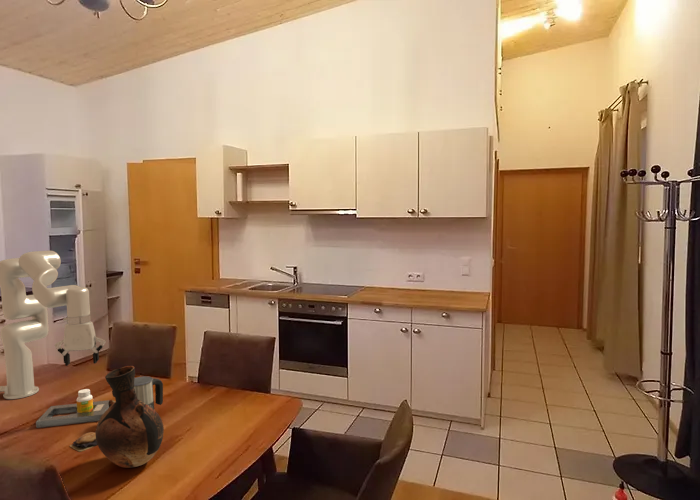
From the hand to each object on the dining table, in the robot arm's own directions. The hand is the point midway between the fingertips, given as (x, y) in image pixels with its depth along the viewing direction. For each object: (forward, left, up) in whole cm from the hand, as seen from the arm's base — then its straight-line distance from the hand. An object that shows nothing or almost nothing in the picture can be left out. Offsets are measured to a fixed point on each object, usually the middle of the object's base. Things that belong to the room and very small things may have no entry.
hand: (81, 363), depth 176 cm
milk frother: (+20, -6, -21) cm, 30 cm away
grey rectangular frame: (-3, -1, -20) cm, 20 cm away
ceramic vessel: (+25, -43, -21) cm, 54 cm away
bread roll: (+9, -25, -21) cm, 34 cm away
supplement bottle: (0, -1, -21) cm, 21 cm away
